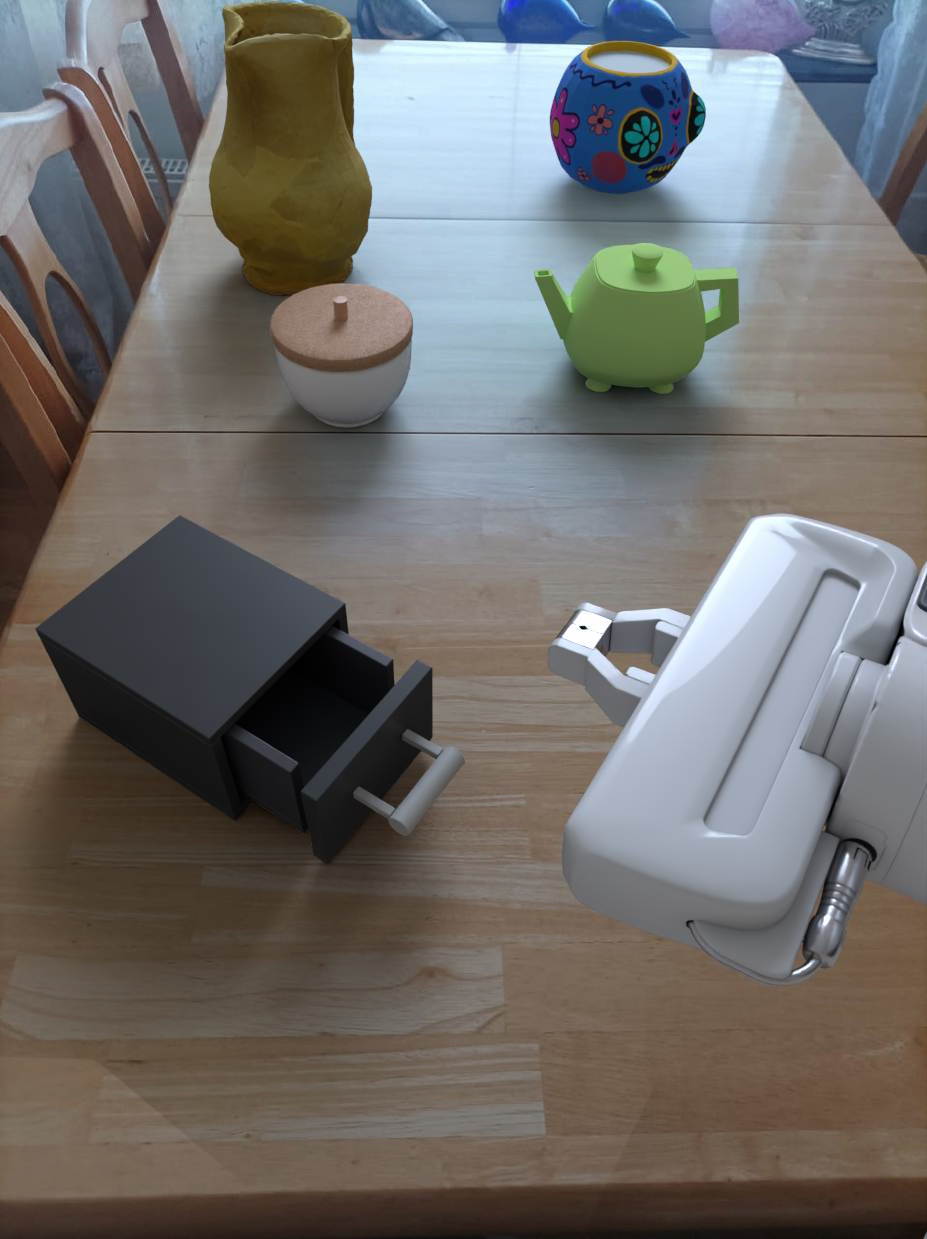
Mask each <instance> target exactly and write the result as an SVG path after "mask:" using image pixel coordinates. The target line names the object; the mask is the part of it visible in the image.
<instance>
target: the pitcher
mask: <svg viewBox="0 0 927 1239" xmlns="http://www.w3.org/2000/svg"><path fill="white" fill-rule="evenodd" d="M221 16H222V20H223V24H224V41H225V42H224V44H223V52H224V55H225V56H224V68H225V86H226V92H227V96H226V98H227V99H226V112H225V121H224V124H223V131H222V134H221V138H220V141H219V145H218V147H217V148H216V151H215V154H214V156H213V158H212V162H211V166H210V170H209V175H208V190H209V196H210V207H211V211H212V212H211V213H212V217H213V221H214V223H215V227H217V229H218V230H219V232H220V233H221V234H222V236H223V237H224V238H225V239H227V240H228V242H230V243H231V244H232V245H234V246H235V247H236V248H237V250H238V253H239V256H240V257H241V258H242V259H243V262H242V264H241V267H242V270H241V272H242V273H243V274H244V276H245V279H246V281H247V283H248V284H250V285H251V286H252V287H254V288H256V290H259V291H261V292H263V293H267V294H270V295H271V296H275V295H276V296H283V295H285V296H286V295H290V296H292V295H294V294H296V293H298V292H301V291H303V290H306V289H309V288H312V287H317V286H321V285H328V284H339V283H344V281H346V279H348V278H349V277H350V276H351V275H350V274H351V273H352V270H353V269H354V268H353V263H354V259H353V256H354V255H356V254H357V253H358V251H359V249H360V248H361V245H362V243H363V241H364V239H365V237H366V235H367V234H368V231H369V219H370V214H371V207H372V202H373V186H372V182H371V180H370V175H369V172H368V168H367V166H366V163H365V161H364V159H363V157H362V155H361V153H360V151H359V149H358V148H357V146H356V142H355V138H354V126H355V106H354V105H355V95H354V94H355V93H354V92H355V90H354V82H355V65H354V59H353V48H354V47H353V46H354V45H353V44H354V42H353V33H352V27H351V23H350V22H349V20H348V19H347V17H346V16H345V15H343V14H340V13H339V12H335V11H333V10H331V9H328V8H326V7H324V6H321V5H316V4H311V3H307V2H297V1H283V0H267V1H260V0H259V1H258V0H257V1H251V2H241V3H236V4H231V5H229V4H228V5H224V6H222V13H221ZM349 279H350V278H349Z"/></svg>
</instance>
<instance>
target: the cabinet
mask: <svg viewBox="0 0 927 1239" xmlns="http://www.w3.org/2000/svg"><path fill="white" fill-rule="evenodd" d="M331 626H333V627H335V628H337V629H339V630H341V631H343V632H344V633H346V634H348V635H350V632H349V623H348V614H347V605H346V603H345V601H343V600H341V599H339V598H337V597H335V596H333V595H332V594H329V593H328V592H325V591H323V590H322V589H320V588H318V587H316V586H315V585H312V584H311V583H308V581H305V580H303V579H301V578H299V577H298V576H295V575H293V574H292V573H291V572H288V571H286V570H284V569H282V568H280V567H278V566H277V565H275V564H272V563H271V562H269V561H267V560H265V559H263V558H262V557H259V556H258V555H256V554H254V553H252V552H250V551H248V550H246V549H244V548H243V547H241V546H239V545H237V544H235V543H233V542H231V541H229V540H228V539H226V538H224V537H222V536H220V535H218V534H216V533H215V532H213V531H211V530H209V529H207V528H205V527H203V526H201V525H200V524H197V523H195V522H194V521H192V520H191V519H188V518H186V517H184V516H182V515H181V514H180V515H178V516H176V517H175V518H174V519H172V520H171V521H170V522H169V523H167V524H166V525H165V526H164V527H162V528H161V529H160V530H159V531H157V532H156V533H155V534H154V535H152V536H151V537H149V539H147V540H146V541H144V542H143V543H142V544H141V545H139V546H138V547H137V548H136V549H134V550H133V551H132V552H131V553H129V554H128V555H127V556H125V557H124V558H123V559H122V560H120V561H119V562H117V564H115V565H114V566H112V568H110V569H109V570H108V571H106V572H105V573H104V574H102V575H101V576H100V577H99V578H97V579H96V580H94V582H92V583H91V584H90V585H88V587H86V588H85V589H83V590H82V591H81V592H80V593H78V594H77V595H76V596H75V597H73V598H72V599H70V600H69V601H68V602H67V603H65V604H64V605H63V606H62V607H60V608H59V609H58V610H57V611H55V612H54V613H53V614H51V615H50V616H48V618H46V619H45V620H44V621H42V622H41V623H40V624H39V625H37V626H36V627H35V629H34V630H35V632H36V634H37V635H38V637H39V639H40V641H41V644H42V645H43V647H44V650H45V652H46V653H47V656H48V658H49V659H50V662H51V663H52V664H51V665H53V667H54V669H55V672H56V673H57V675H58V677H59V680H60V682H61V684H62V686H63V688H64V689H65V692H66V693H67V696H68V698H69V700H70V702H71V704H72V706H73V708H74V709H75V712H76V715H77V716H78V718H79V719H81V720H83V721H84V722H86V723H87V724H89V725H90V726H91V727H93V728H95V729H96V730H97V731H99V732H101V733H102V734H104V735H105V736H107V737H108V738H110V739H111V740H112V741H114V742H116V744H119V745H120V746H121V747H123V748H125V749H126V750H128V751H129V752H131V753H132V754H134V756H135V755H136V756H137V757H138V758H139V759H142V760H143V761H144V762H146V763H147V764H149V765H150V766H152V767H154V768H155V769H156V770H158V771H159V772H161V773H162V774H163V775H165V776H166V777H168V778H170V779H171V780H173V781H174V782H176V783H178V784H179V785H180V786H182V787H184V788H185V789H186V790H188V791H189V792H191V793H192V794H194V795H195V796H197V797H198V798H200V799H201V800H203V801H204V802H206V803H207V804H209V805H210V806H212V807H214V808H215V809H216V810H218V811H219V812H221V813H222V814H224V815H226V816H227V817H228V818H230V819H232V820H233V821H234V822H237V821H238V820H239V819H240V818H241V817H242V815H243V814H245V812H246V811H247V810H248V809H249V808H250V807H251V806H252V805H253V804H254V802H253V801H252V800H250V799H249V798H247V797H246V796H244V795H243V794H241V793H239V792H238V791H237V789H236V786H235V783H234V779H233V776H232V773H231V770H230V766H229V763H228V760H227V757H226V753H225V750H224V747H223V744H222V740H221V738H220V737H221V736H222V735H223V734H224V733H225V732H226V731H227V730H228V729H229V728H230V727H231V726H232V725H233V724H234V723H235V722H236V721H237V720H238V719H239V718H240V717H241V716H242V715H243V714H244V713H245V712H246V711H247V710H248V709H249V708H250V707H251V706H252V705H253V704H254V703H255V702H256V701H257V700H258V699H259V698H260V697H261V696H262V695H263V694H264V693H265V692H266V691H267V690H268V689H269V688H270V687H271V686H272V685H273V684H274V683H275V682H276V681H277V680H278V679H279V678H280V677H281V676H282V675H283V674H284V673H285V672H286V671H287V670H288V669H289V668H290V667H291V666H292V665H293V664H294V663H295V662H296V661H297V660H298V659H299V658H300V657H301V656H302V655H303V654H304V653H305V652H306V651H307V650H308V649H309V648H310V647H311V646H312V645H313V644H314V643H315V642H316V641H317V640H318V639H319V638H320V637H321V636H322V635H323V634H324V633H325V632H326V631H327V630H328V629H329V628H330V627H331Z"/></svg>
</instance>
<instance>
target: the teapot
mask: <svg viewBox="0 0 927 1239" xmlns="http://www.w3.org/2000/svg"><path fill="white" fill-rule="evenodd" d="M533 274H534V279H535V282H536V284H537V287H538V289H539V292H540V294H541V297H542V299H543V301H544V304H545V306H546V308H547V311H548V313H549V315H550V317H551V320H552V322H553V325H554V327H555V329H556V332H557V334H558V336H559V339H560V340H563V345H564V349H565V351H566V353H567V355H568V357H569V360H570V361H571V363H572V364H573V366H574V367H575V369H576V370H577V371H578V372H579V373H580V374H581V375H582V376H584V377H586V378H587V380H586V381H585V385H586V387H587V388H588V389H589V390H591V391H592V392H593V391H594V392H596V393H604V392H607V391H609V390H611V389H612V385H613V386H618V387H626V388H627V387H628V388H648V389H649V390H650V391H652V392H654V393H656V394H660V395H661V394H662V395H664V394H669V393H671V392H672V391H673V390H674V383H676V382H679V381H681V380H682V379H683V378H685V377H687V376H688V375H689V374H690V373H691V372H692V371H694V370H695V369H696V367H698V365H699V364H700V363H701V361H702V359H703V356H704V351H705V344H706V342H707V341H710V340H711V339H713V338H715V337H716V336H719V335H721V334H723V333H724V332H725V331H728V330H729V329H731V328H733V327H736V326H737V325H738V324H740V298H739V297H740V296H739V294H740V293H739V291H740V290H739V289H740V288H739V276H738V271H737V268H736V267H722V268H703V269H694V265H693V264H692V261H691V260H690V258H688V256H687V255H685V254H684V253H682V252H681V251H678V250H676V249H674V248H671V247H666V246H665V247H664V246H660V245H657V244H654V243H651V242H640V243H636V244H619V245H612V246H608V247H605V248H603V249H601V250H599V251H597V252H596V253H595V254H594V256H593V257H592V258H591V260H590V261H589V262H588V264H587V265H586V266H585V268H584V269H583V271H582V273H581V274H580V276H579V277H578V279H577V280H576V282H575V284H574V285H573V288H572V290H571V292H570V295H567V294H566V292H565V290H563V288H562V286H561V285H560V283H559V281H558V280H557V278H556V277H555V275H554V274H553V272H552V268H544V269H535V270H533ZM716 290H719V294H718V305H715V306H714V307H712V308H710V309H708V310H705V303H704V299H703V294H702V292H709V291H716Z"/></svg>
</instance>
